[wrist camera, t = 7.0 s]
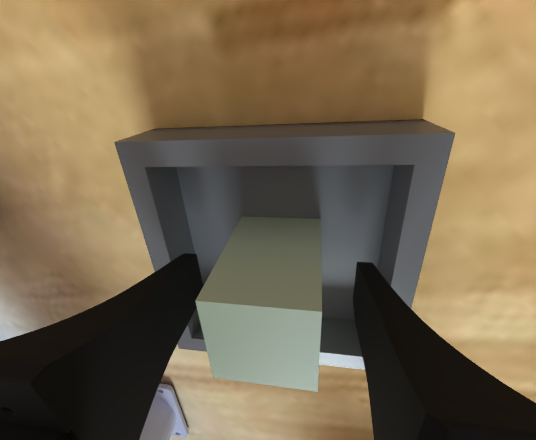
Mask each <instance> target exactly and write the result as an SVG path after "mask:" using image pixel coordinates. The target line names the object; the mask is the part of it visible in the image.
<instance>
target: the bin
mask: <svg viewBox="0 0 536 440" xmlns="http://www.w3.org/2000/svg"><path fill="white" fill-rule="evenodd" d="M454 136H455V133H454V132H452V131H449V130H447V129H445V128H442V127H440V126H438V125H435V124H433V123H431V122H428V121H426V120H424V119H419V120H391V121H363V122H334V123H306V124H278V125H249V126H221V127H192V128H164V129H153V130H150V131H147V132H144V133H141V134H138V135H135V136H132V137H129V138H125V139H122V140H119V141H116V142H114V143H115V146H116V149H117V152H118V155H119V159H120V162H121V165H122V168H123V171H124V175H125V178H126V181H127V184H128V187H129V190H130V194H131V197H132V200H133V203H134V206H135V210H136V213H137V216H138V219H139V222H140V226H141V229H142V232H143V235H144V238H145V242H146V245H147V248H148V251H149V254H150V258H151V261H152V264H153V267H154V270H155V272H156V271H157V270H159V269H160V268H162V267H163V266H165V265H166V264H168V263H169V262H171V261H172V260H174V259H176V258H177V257H179V256H180V255H182V254H184V253H190V254H197V259H198V263H199V268H200V272H201V277H202V282H203V286H204V284H205V282H206V280H207V279H208V277H209V275H210V273H211V271H212V270H213V268H214V266H215V264H216V262H217V260H218V259H219V257H220V255H221V253H222V251H223V250H224V248H225V246H226V244H227V242H228V240H229V239H230V237H231V235H232V233H233V231H234V229H235V228H236V226H237V224H238V222H239V220H240V219H241V217H242V216H246V217H279V218H312V219H321V264H322V322H321V340H320V358H319V365H328V366H337V367H345V368H354V369H363V370H365V366H364V361H363V357H362V352H361V348H360V343H359V338H358V334H357V329H356V324H355V318H354V307H353V292H354V283H355V275H356V266H357V262H372V263H373V264H374V265H375V266H376V268H377V269H378V270H379V272H380V273H381V274H382V276H383V277H384V278H385V279H386V281H387V282H388V283H389V284H390V286H391V287H392V288H393V289H394V290H395V292H396V293H397V294H398V295H399V296H400V297H401V299H402V300H403V301H404V302H405V303H406V304H407V305H408V306H409V307H410V308H411V307H412V303H413V299H414V295H415V291H416V287H417V283H418V279H419V275H420V271H421V267H422V263H423V259H424V255H425V251H426V247H427V243H428V239H429V235H430V231H431V227H432V223H433V219H434V215H435V211H436V207H437V203H438V199H439V195H440V191H441V187H442V183H443V179H444V175H445V171H446V168H447V164H448V160H449V156H450V152H451V148H452V144H453V140H454ZM178 347H179V348H180V349H189V350H198V351H206V352H207V349H206V344H205V340H204V336H203V332H202V327H201V323H200V319H199V315H198V310H197V308H196V310H195V312H194V313H193V315H192V317H191V319H190V321H189V323H188V325H187V327H186V329H185V331H184V332H183V334H182V336H181V338H180V340H179V342H178Z"/></svg>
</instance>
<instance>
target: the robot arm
mask: <svg viewBox="0 0 536 440" xmlns="http://www.w3.org/2000/svg"><path fill="white" fill-rule="evenodd" d="M202 288H203V282H202V277H201V272H200V268H199V263H198V259H197V254H190V253H184V254H182V255H180V256H179V257H177V258H176V259H174V260H172V261H171V262H169V263H168V264H166V265H165V266H163V267H162V268H160V269H159V270H157V271H156V272H154V273H153V274H151V275H150V276H148V277H147V278H145V279H144V280H142V281H140V282H139V283H137V284H135V285H134V286H132V287H130V288H129V289H127V290H125V291H124V292H122V293H120V294H118V295H117V296H115V297H113V298H111V299H109V300H107V301H105V302H103V303H101V304H99V305H97V306H95V307H93V308H90V309H88V310H86V311H84V312H81V313H79V314H77V315H75V316H72V317H70V318H68V319H65V320H62V321H60V322H57V323H55V324H52V325H49V326H46V327H44V328H41V329H38V330H35V331H32V332H29V333H26V334H23V335H20V336H16V337H13V338H10V339H7V340H4V341H0V440H169V439H170V436H171V435H175V436H181V437H187V436H188V433H189V431H188V428H187V425H186V422H185V420H184V417H183V414H182V411H181V409H180V406H179V403H178V401H177V398H176V395H175V392H174V390H173V387H172V386H170V385H168V384H161V383H160V381H161V379H162V376H163V374H164V372H165V369H166V367H167V364H168V362H169V360H170V357H171V355H172V353H173V351H174V349H175V347H176V345H177V344H178V342H179V340H180V338H181V336H182V334H183V332H184V331H185V329H186V327H187V325H188V323H189V321H190V319H191V317H192V315H193V313H194V312H195V310H196V308H197V306H196V302H195V301H196V299H197V297H198V295H199V293H200V291H201V290H202ZM353 307H354V318H355V324H356V329H357V334H358V338H359V343H360V348H361V352H362V357H363V361H364V366H365V371H366V376H367V382H368V389H369V398H370V406H371V415H372V424H373V433H374V440H536V403H535V402H533V401H531V400H530V399H528V398H526V397H525V396H523V395H521V394H520V393H518V392H517V391H515V390H513V389H512V388H510V387H508V386H507V385H505V384H504V383H502V382H501V381H499V380H498V379H496V378H495V377H494V376H492V375H491V374H489V373H488V372H486V371H485V370H483V369H482V368H480V367H479V366H478V365H476V364H475V363H473V362H472V361H471V360H469V359H468V358H467V357H465V356H464V355H463V354H461V353H460V352H459V351H458V350H456V349H455V348H454V347H452V346H451V345H450V344H449V343H447V342H446V341H445V340H444V339H443V338H441V337H440V336H439V335H438V334H437V333H436V332H435V331H433V330H432V329H431V328H430V327H429V326H428V325H427V324H426V323H424V322H423V321H422V320H421V319H420V318H419V317H418V316H417V315H416V314H415V313H414V312H413V310H412V309H411V308H410V307H409V306H408V305H407V304H406V303H405V302H404V301H403V300H402V299H401V297H400V296H399V295H398V294H397V293H396V292H395V290H394V289H393V288H392V287H391V286H390V284H389V283H388V282H387V281H386V279H385V278H384V277H383V276H382V274H381V273H380V272H379V270H378V269H377V268H376V266H375V265H374V264H373V263H372V262H357V266H356V275H355V283H354V292H353Z"/></svg>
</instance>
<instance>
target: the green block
mask: <svg viewBox="0 0 536 440" xmlns="http://www.w3.org/2000/svg"><path fill="white" fill-rule="evenodd" d="M195 302H196V306H197V310H198V315H199V319H200V323H201V327H202V332H203V336H204V340H205V344H206V349H207V353H208V357H209V362H210V366H211V370H212V374H213V378H220V379H227V380H234V381H242V382H249V383H256V384H264V385H271V386H278V387H286V388H293V389H300V390H308V391H315V392H318V375H319V358H320V340H321V322H322V264H321V219H312V218H279V217H246V216H242V217H241V219H240V220H239V222H238V224H237V226H236V228H235V229H234V231H233V233H232V235H231V237H230V239H229V240H228V242H227V244H226V246H225V248H224V250H223V251H222V253H221V255H220V257H219V259H218V260H217V262H216V264H215V266H214V268H213V270H212V271H211V273H210V275H209V277H208V279H207V280H206V282H205V284H204V286H203V288H202V290H201V291H200V293H199V295H198V297H197V299H196V301H195Z"/></svg>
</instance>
